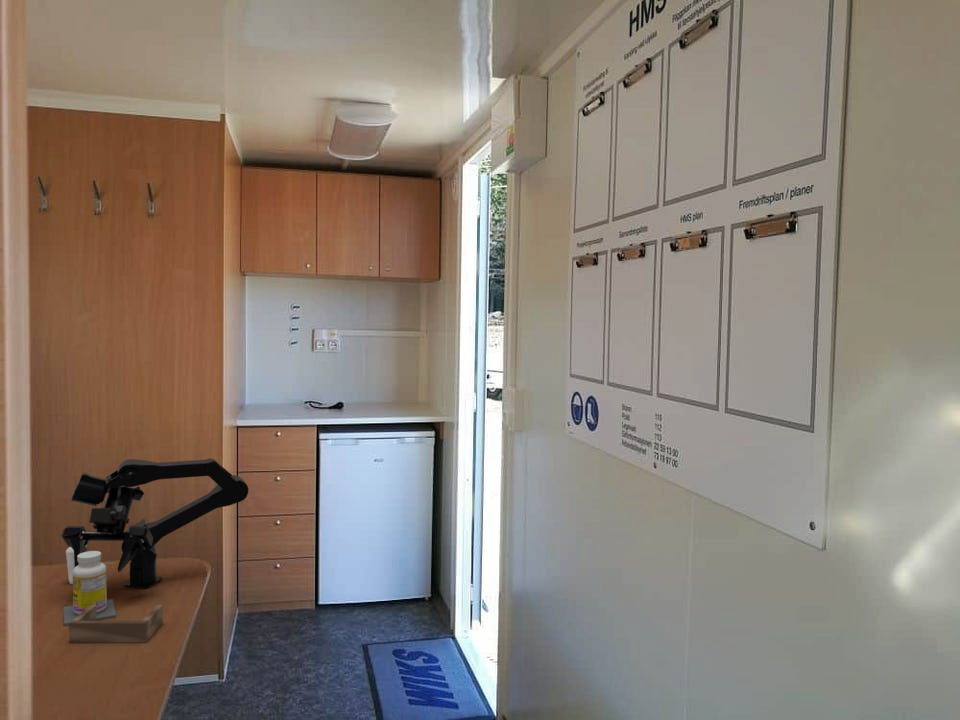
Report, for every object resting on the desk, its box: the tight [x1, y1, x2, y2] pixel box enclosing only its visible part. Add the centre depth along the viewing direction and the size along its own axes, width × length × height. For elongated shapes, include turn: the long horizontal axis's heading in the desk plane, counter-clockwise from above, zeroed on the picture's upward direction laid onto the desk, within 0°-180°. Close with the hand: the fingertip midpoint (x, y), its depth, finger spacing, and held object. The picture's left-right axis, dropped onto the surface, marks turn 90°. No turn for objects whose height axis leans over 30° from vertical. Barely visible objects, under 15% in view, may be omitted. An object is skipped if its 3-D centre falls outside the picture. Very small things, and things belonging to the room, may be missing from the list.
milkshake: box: [65, 544, 88, 585], centre depth 181 cm, size 4×5×10 cm
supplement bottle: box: [72, 550, 108, 615], centre depth 163 cm, size 7×7×13 cm
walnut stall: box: [68, 604, 164, 643], centre depth 154 cm, size 9×15×4 cm, turn 93°
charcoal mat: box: [63, 598, 117, 627], centre depth 163 cm, size 10×10×1 cm
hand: (97, 571), depth 166 cm, fingers open, 9 cm apart
